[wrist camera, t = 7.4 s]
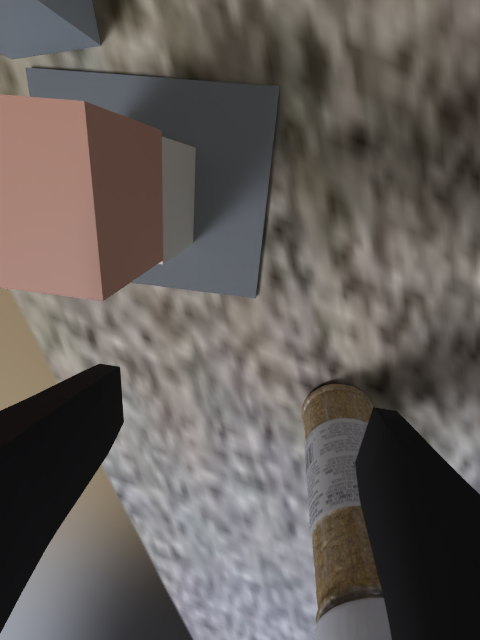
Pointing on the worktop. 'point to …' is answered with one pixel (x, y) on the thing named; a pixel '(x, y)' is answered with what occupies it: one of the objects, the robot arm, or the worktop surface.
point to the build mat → (197, 164)
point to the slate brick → (46, 27)
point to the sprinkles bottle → (340, 517)
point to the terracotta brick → (77, 197)
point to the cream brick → (177, 196)
